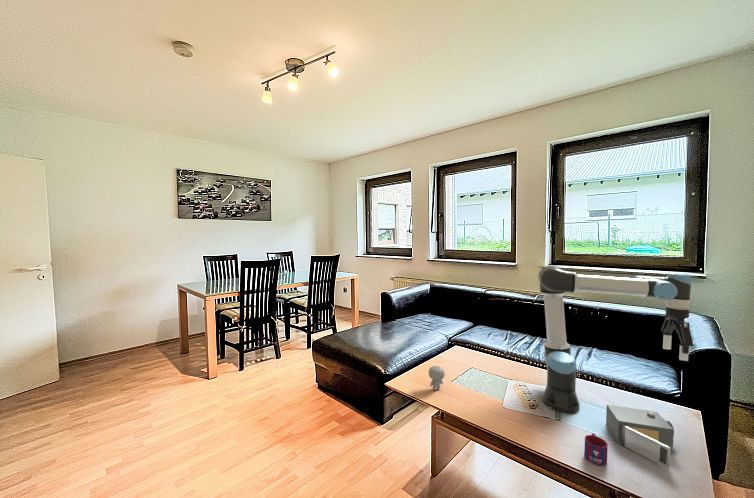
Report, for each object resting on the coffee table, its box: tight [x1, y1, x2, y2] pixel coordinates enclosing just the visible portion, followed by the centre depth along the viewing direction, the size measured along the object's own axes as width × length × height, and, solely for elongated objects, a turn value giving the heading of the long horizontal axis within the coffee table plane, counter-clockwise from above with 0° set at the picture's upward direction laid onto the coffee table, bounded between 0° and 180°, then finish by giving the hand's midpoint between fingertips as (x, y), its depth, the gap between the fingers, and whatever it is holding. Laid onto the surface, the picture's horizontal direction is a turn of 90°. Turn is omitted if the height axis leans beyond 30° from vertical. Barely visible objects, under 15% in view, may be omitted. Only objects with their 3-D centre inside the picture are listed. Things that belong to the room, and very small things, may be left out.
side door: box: [621, 425, 671, 470], centre depth 112 cm, size 14×2×8 cm, turn 26°
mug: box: [583, 433, 609, 467], centre depth 113 cm, size 7×10×7 cm
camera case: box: [605, 404, 675, 454], centre depth 122 cm, size 19×12×10 cm, turn 71°
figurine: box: [428, 365, 446, 391], centre depth 161 cm, size 8×8×12 cm
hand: (674, 354), depth 139 cm, fingers open, 13 cm apart
